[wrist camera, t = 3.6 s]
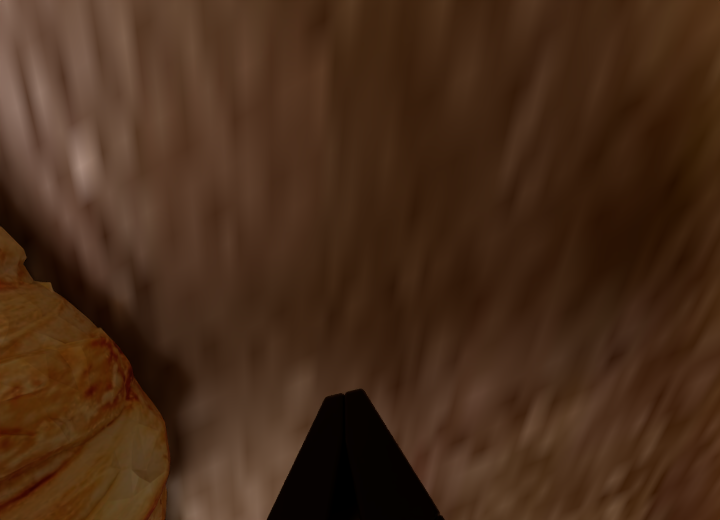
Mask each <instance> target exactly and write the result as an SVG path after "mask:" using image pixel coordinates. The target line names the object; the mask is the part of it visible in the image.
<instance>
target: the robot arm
mask: <svg viewBox="0 0 720 520" xmlns="http://www.w3.org/2000/svg"><path fill="white" fill-rule="evenodd" d="M267 520H445V519H444V518H443V516H442V515H440V512H439V510H438V509H437V507H436V505H435V504H434V502H433V501H432V499H431V497H430V496H429V494H428V492H427V491H426V489H425V488H424V486H423V484H422V483H421V481H420V480H419V478H418V476H417V475H416V473H415V472H414V470H413V468H412V467H411V465H410V464H409V462H408V460H407V459H406V457H405V456H404V454H403V452H402V451H401V449H400V447H399V446H398V444H397V443H396V441H395V439H394V438H393V436H392V435H391V433H390V431H389V430H388V428H387V427H386V425H385V423H384V422H383V420H382V419H381V417H380V415H379V414H378V412H377V411H376V409H375V407H374V406H373V404H372V402H371V401H370V399H369V398H368V396H367V394H366V393H365V391H364V390H363V389H357V390H352V391H348V392H346V393H345V395H344V394H342V393H339V394H335V395H331V396H327V397H326V398H325V399H324V401H323V403H322V405H321V407H320V409H319V411H318V413H317V416H316V418H315V420H314V422H313V424H312V426H311V428H310V430H309V432H308V434H307V436H306V439H305V441H304V443H303V445H302V447H301V449H300V451H299V453H298V455H297V457H296V459H295V462H294V464H293V466H292V468H291V470H290V472H289V474H288V476H287V478H286V480H285V482H284V485H283V487H282V489H281V491H280V493H279V495H278V497H277V499H276V501H275V503H274V506H273V508H272V510H271V512H270V514H269V516H268V518H267Z"/></svg>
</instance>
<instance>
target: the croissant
mask: <svg viewBox="0 0 720 520" xmlns="http://www.w3.org/2000/svg"><path fill="white" fill-rule="evenodd" d="M26 258H27V257H26V254H25V251H24V249H23V248H22V247H21V246H20V245H19V244H18V243H17V242H16V241H15V240H14V239H13V238H12V237H11V236H10V235H9V234H8V233H7V232H6V231H5V230H4V229H3V228H2V227H1V226H0V520H165V515H166V502H167V489H166V482H167V479H168V476H169V470H170V463H171V458H170V451H169V445H168V438H167V432H166V425H165V421H164V419H163V418H162V416H161V414H160V412H159V411H158V409H157V408H156V406H155V405H154V404H153V402H152V401H151V400H150V398H149V397H148V396H147V395H146V393H145V392H144V391H143V390H142V388H141V387H140V385H139V383H138V382H137V380H136V379H135V378H134V374H133V370H132V366H131V364H130V362H129V361H128V359H127V358H126V356H125V355H124V353H123V352H122V351H121V349H120V348H119V346H118V345H117V344H116V343H115V342H114V341H113V340H112V339H111V338H110V337H109V336H108V335H107V334H106V333H105V332H104V331H103V330H102V329H101V328H97V327H96V326H95V325H94V324H93V323H92V322H91V320H90V319H89V318H87V317H86V316H85V315H84V314H83V313H81V312H80V311H79V310H78V309H77V308H76V307H74V306H73V305H72V304H71V303H70V302H68V301H67V300H66V299H65V298H63V297H62V296H61V295H59V294H57V293H56V292H54V291H53V288H52V285H51V283H50V282H39V281H34V280H33V279H32V277H31V276H30V274H29V272H28V271H27V269H26V268H25V266H24V265H23V263H24V261H25V260H26Z"/></svg>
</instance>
